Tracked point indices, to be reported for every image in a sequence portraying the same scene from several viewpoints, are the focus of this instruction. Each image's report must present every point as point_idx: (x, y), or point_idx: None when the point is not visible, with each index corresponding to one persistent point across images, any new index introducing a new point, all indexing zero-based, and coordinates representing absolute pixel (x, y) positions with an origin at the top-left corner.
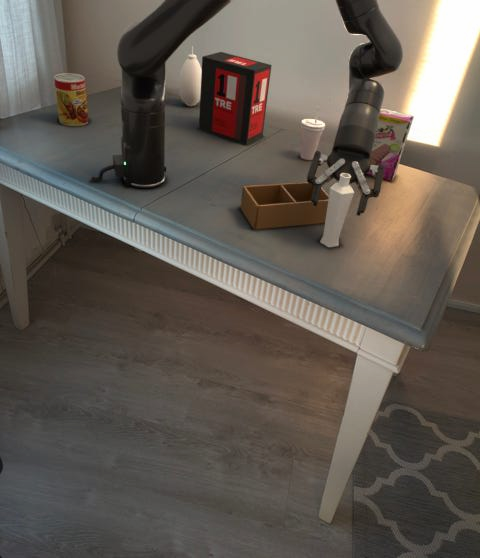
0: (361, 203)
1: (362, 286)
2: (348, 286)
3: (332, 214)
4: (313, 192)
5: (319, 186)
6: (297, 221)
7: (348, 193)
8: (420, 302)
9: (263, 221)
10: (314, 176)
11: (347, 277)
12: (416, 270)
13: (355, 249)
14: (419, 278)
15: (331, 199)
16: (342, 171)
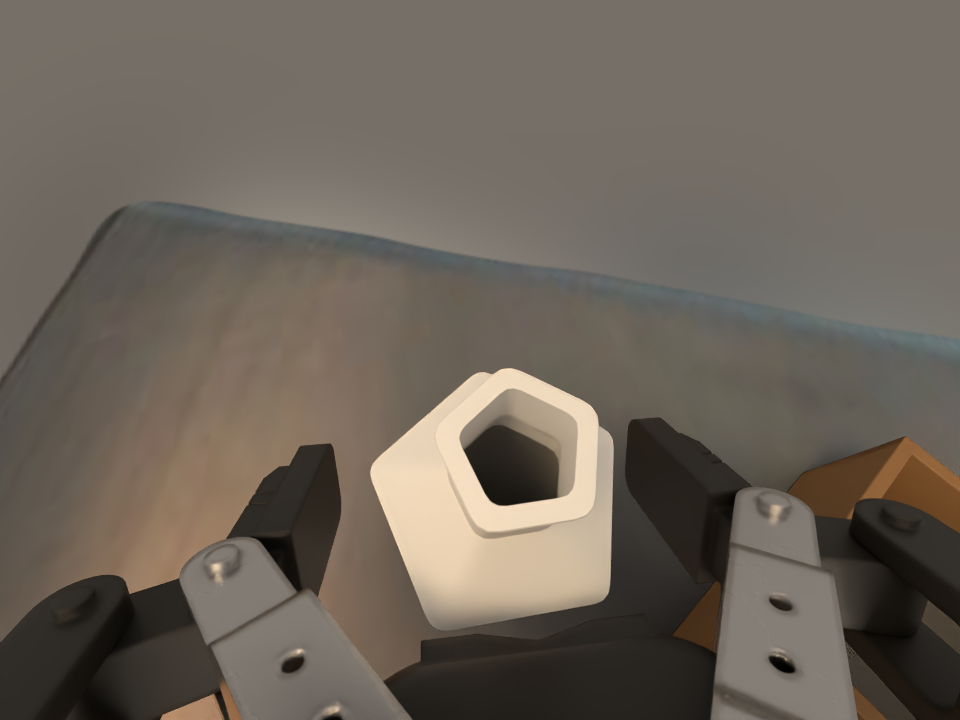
0: (296, 479)
1: (300, 310)
2: (349, 291)
3: (501, 469)
4: (715, 463)
5: (715, 481)
6: (686, 632)
7: (423, 421)
8: (89, 312)
9: (809, 490)
10: (865, 558)
11: (357, 334)
12: (37, 522)
13: (341, 556)
14: (43, 461)
15: (550, 451)
16: (623, 702)
